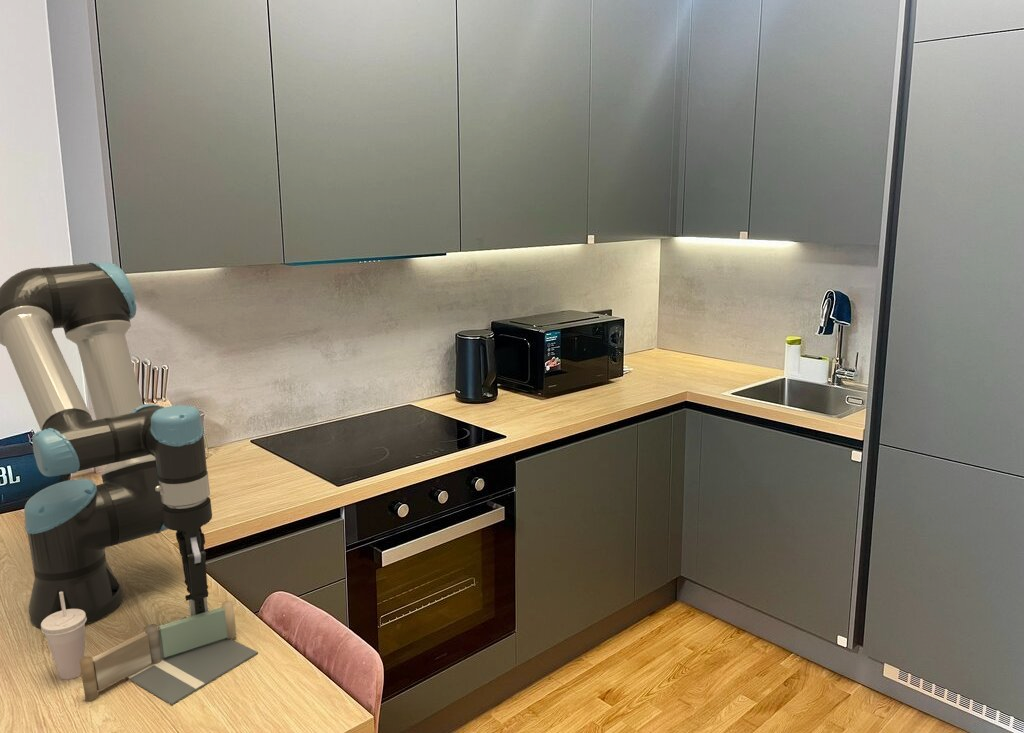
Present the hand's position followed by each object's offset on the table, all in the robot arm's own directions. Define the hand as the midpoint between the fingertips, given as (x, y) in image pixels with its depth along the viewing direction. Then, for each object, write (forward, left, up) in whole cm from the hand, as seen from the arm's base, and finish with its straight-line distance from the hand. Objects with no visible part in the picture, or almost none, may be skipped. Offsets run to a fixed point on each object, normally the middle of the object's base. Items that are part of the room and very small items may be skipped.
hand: (201, 628), depth 140 cm
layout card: (+1, -5, -2) cm, 6 cm away
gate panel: (+2, -2, -2) cm, 3 cm away
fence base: (-1, -14, -2) cm, 14 cm away
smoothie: (-10, -17, -2) cm, 20 cm away
